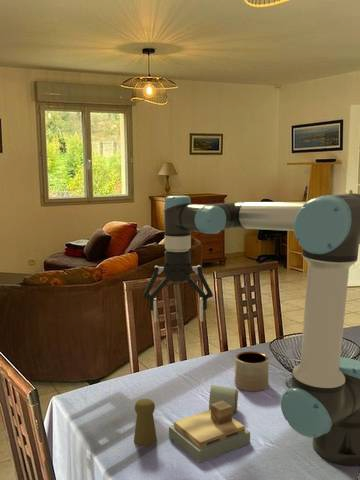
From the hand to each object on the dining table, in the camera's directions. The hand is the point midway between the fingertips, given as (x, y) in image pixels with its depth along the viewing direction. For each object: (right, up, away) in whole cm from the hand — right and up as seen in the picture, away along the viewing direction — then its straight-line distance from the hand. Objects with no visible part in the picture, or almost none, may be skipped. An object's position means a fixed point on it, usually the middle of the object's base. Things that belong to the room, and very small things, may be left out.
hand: (178, 320), depth 148 cm
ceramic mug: (+13, -26, 0) cm, 29 cm away
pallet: (+8, -26, -17) cm, 32 cm away
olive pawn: (-9, -29, -17) cm, 34 cm away
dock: (+8, -29, -17) cm, 34 cm away
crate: (+11, -24, -15) cm, 30 cm away
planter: (+24, -24, +16) cm, 37 cm away
